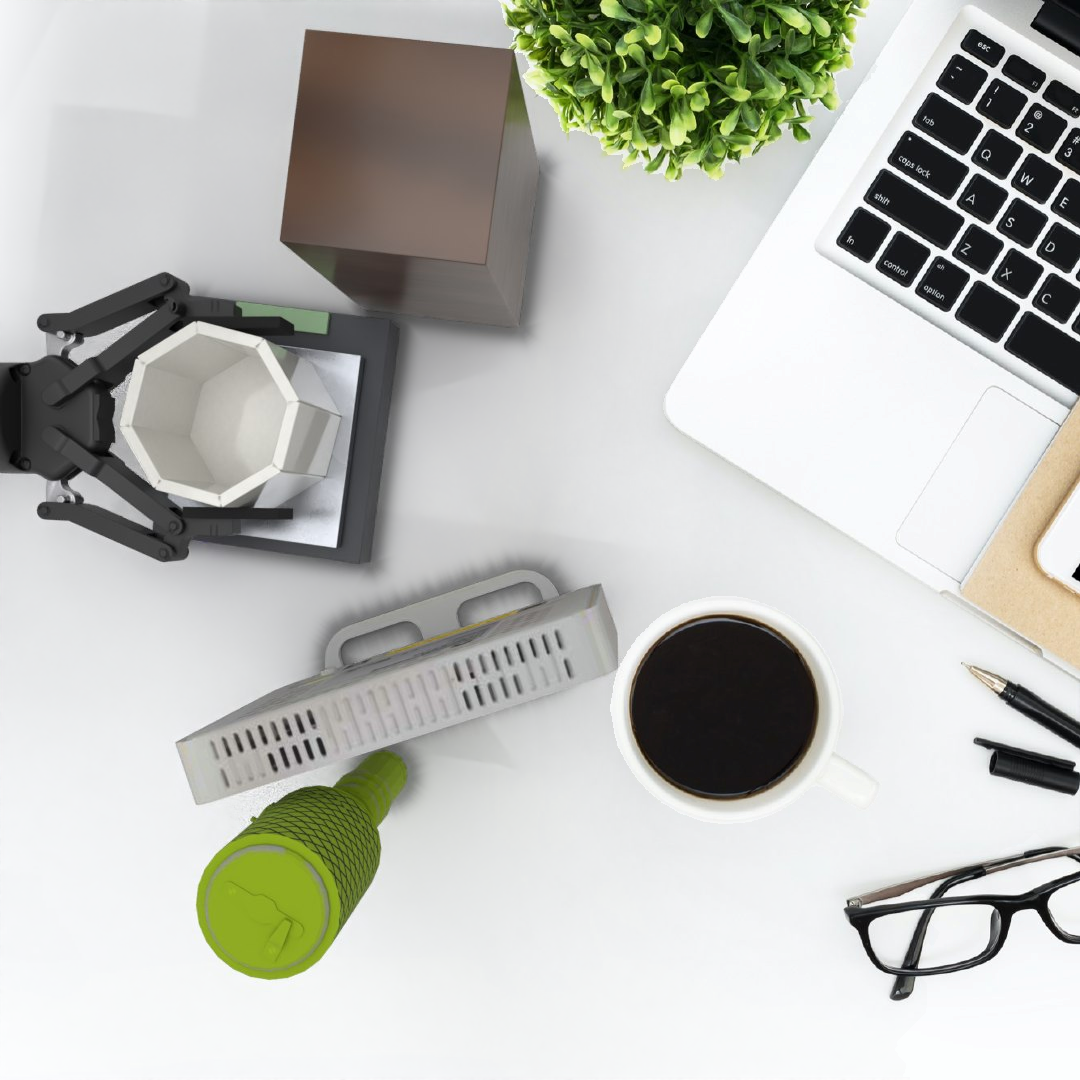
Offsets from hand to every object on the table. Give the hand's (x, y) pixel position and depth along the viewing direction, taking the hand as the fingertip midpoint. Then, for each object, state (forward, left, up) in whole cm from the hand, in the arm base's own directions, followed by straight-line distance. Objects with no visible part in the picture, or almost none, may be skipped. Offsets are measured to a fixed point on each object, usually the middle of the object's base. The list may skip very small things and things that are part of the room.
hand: (287, 420), depth 62 cm
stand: (-16, +7, -10) cm, 20 cm away
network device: (+15, +11, -10) cm, 22 cm away
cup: (0, -4, -5) cm, 7 cm away
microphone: (+25, +7, -10) cm, 28 cm away
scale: (0, -4, -10) cm, 10 cm away
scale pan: (+1, -4, -6) cm, 8 cm away
